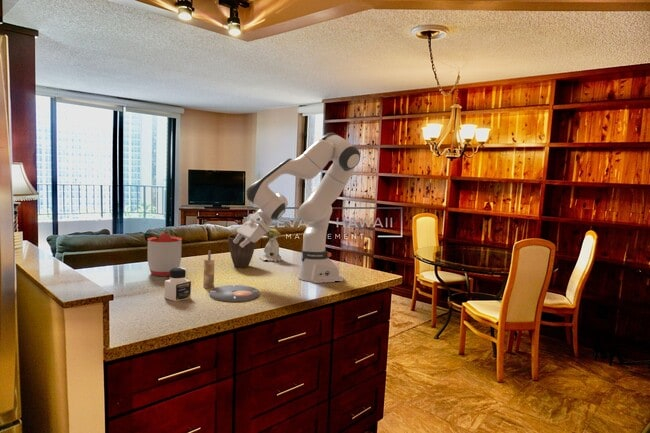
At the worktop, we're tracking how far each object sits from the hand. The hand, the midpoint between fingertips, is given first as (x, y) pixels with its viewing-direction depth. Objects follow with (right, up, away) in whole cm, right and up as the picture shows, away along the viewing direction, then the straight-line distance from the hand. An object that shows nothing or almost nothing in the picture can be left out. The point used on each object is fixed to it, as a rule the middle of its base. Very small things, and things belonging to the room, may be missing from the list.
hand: (237, 244), depth 187 cm
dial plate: (+1, -20, -13) cm, 24 cm away
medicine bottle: (-19, -20, -22) cm, 35 cm away
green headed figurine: (+7, -13, +59) cm, 60 cm away
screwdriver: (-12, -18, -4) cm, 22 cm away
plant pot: (-6, -14, +37) cm, 40 cm away
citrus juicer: (-39, -15, +15) cm, 44 cm away
